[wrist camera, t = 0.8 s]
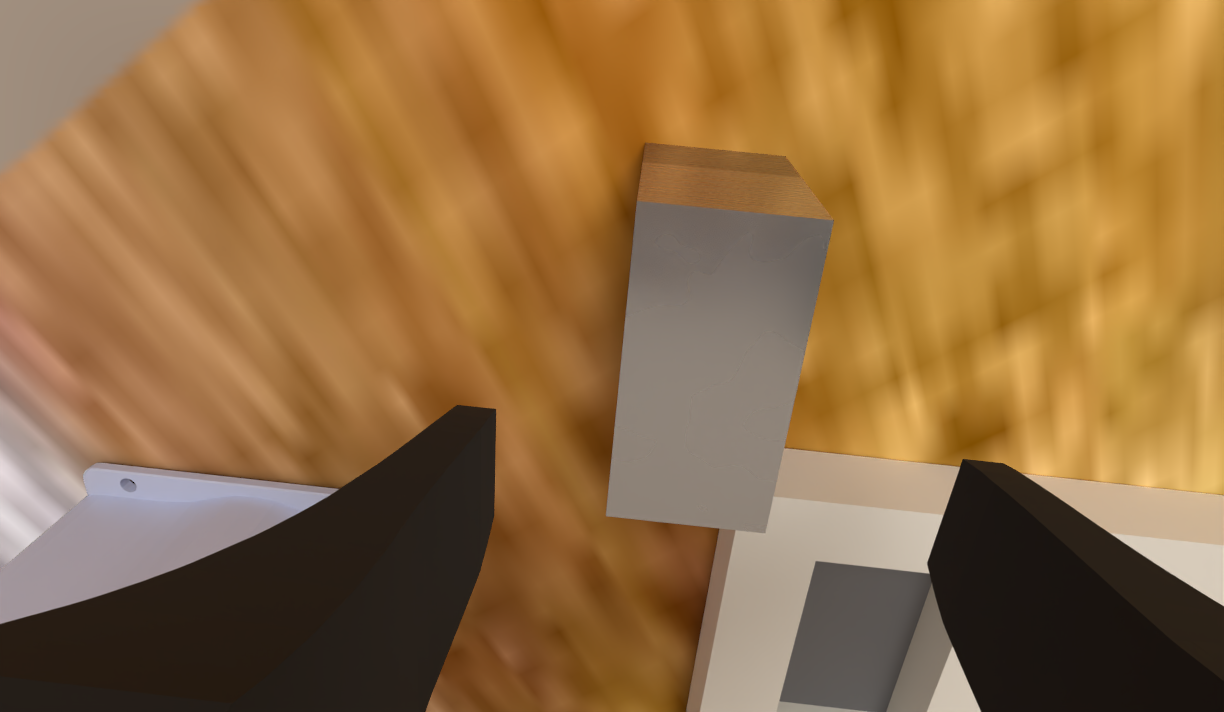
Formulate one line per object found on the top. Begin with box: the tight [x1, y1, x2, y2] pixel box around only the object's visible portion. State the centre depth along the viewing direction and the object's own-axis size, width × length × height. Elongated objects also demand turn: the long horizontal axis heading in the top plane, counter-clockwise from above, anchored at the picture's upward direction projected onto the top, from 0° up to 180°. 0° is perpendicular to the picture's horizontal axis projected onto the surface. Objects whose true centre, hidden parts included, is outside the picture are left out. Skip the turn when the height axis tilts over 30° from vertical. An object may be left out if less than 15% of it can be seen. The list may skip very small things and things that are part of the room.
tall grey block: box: [606, 143, 834, 533], centre depth 17 cm, size 4×7×6 cm, turn 175°
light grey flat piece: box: [686, 448, 1224, 712], centre depth 23 cm, size 16×12×2 cm
